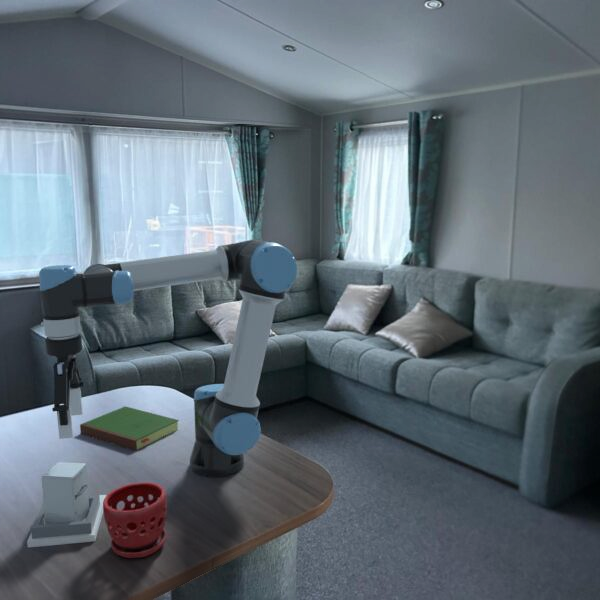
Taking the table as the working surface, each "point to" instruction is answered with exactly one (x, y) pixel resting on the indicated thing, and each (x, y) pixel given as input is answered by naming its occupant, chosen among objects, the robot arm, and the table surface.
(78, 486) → the supplement box
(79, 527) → the plate
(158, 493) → the plant pot
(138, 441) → the hardcover book
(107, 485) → the table surface
